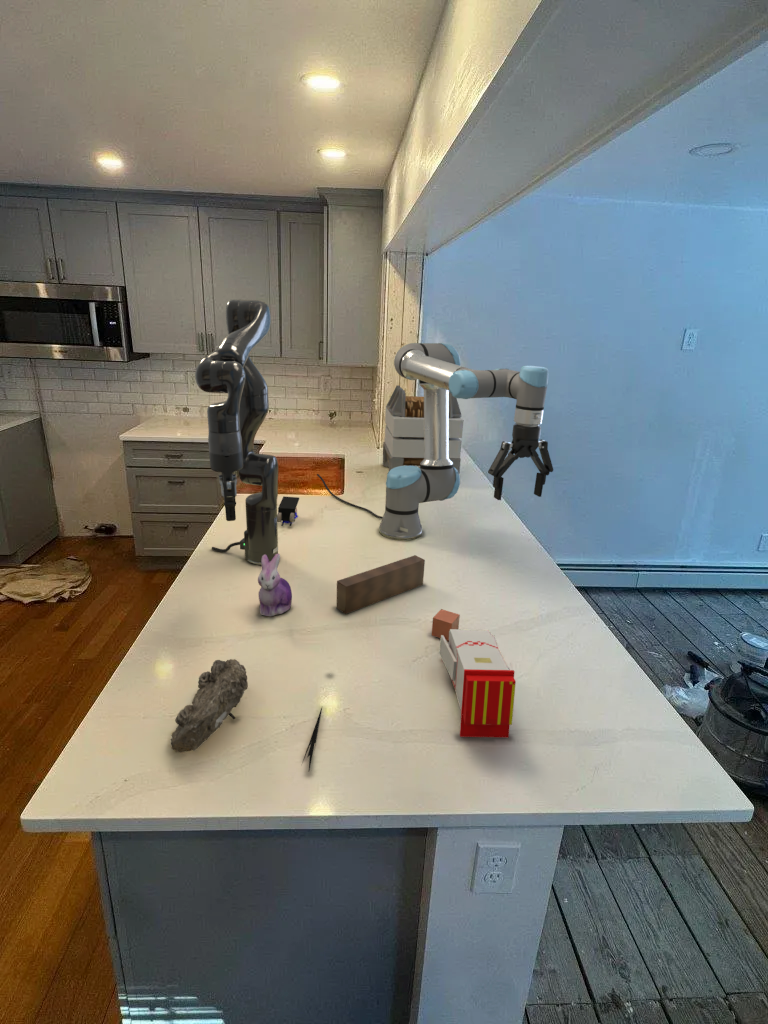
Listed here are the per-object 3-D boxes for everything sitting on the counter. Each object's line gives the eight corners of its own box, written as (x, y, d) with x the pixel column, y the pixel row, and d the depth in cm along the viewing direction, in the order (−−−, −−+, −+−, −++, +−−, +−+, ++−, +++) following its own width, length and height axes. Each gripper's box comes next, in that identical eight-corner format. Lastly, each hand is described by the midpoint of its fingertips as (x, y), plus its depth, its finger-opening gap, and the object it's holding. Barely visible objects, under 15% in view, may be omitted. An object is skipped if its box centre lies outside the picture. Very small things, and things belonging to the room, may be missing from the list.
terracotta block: (431, 635, 139) (432, 617, 137) (439, 626, 143) (441, 608, 141) (450, 641, 136) (451, 623, 135) (458, 632, 140) (459, 614, 139)
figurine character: (295, 532, 200) (300, 513, 214) (294, 513, 197) (299, 495, 210) (276, 531, 200) (282, 512, 213) (275, 512, 197) (281, 494, 210)
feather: (331, 679, 122) (336, 673, 122) (307, 777, 96) (313, 769, 95) (324, 675, 122) (329, 669, 121) (298, 772, 95) (304, 764, 95)
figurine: (263, 621, 141) (261, 566, 136) (252, 602, 149) (250, 550, 144) (299, 613, 145) (298, 560, 140) (286, 596, 154) (285, 545, 148)
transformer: (381, 463, 289) (385, 382, 275) (444, 464, 292) (450, 384, 279) (389, 482, 257) (393, 392, 243) (459, 483, 261) (467, 394, 247)
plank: (345, 614, 146) (346, 586, 144) (336, 608, 149) (336, 580, 146) (423, 584, 164) (424, 559, 161) (413, 579, 167) (415, 555, 164)
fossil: (195, 660, 117) (247, 628, 112) (227, 691, 120) (279, 661, 115) (146, 746, 98) (206, 711, 93) (185, 779, 101) (245, 748, 96)
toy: (489, 613, 130) (525, 677, 101) (485, 667, 133) (518, 744, 104) (437, 612, 130) (457, 676, 101) (434, 666, 133) (453, 743, 103)
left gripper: (208, 441, 137) (213, 504, 143) (209, 458, 124) (214, 526, 130) (240, 440, 139) (243, 502, 145) (244, 456, 126) (248, 523, 132)
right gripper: (495, 428, 149) (486, 504, 156) (573, 425, 157) (561, 497, 165) (481, 422, 155) (473, 495, 163) (556, 420, 164) (545, 490, 171)
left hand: (230, 513), depth 138 cm, fingers open, 8 cm apart
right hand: (517, 497), depth 164 cm, fingers open, 13 cm apart
